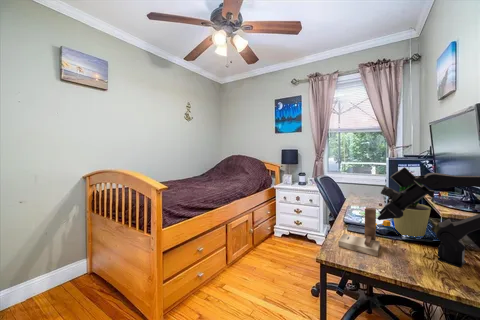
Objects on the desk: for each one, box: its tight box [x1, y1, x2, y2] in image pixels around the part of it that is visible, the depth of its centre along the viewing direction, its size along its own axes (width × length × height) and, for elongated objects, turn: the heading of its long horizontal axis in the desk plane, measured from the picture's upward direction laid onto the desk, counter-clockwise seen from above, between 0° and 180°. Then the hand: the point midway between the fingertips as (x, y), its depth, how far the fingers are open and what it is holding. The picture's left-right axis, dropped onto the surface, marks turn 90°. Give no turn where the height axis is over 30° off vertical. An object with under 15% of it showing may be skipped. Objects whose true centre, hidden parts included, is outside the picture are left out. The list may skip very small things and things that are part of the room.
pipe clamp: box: [376, 219, 391, 226], centre depth 113 cm, size 12×4×6 cm, turn 19°
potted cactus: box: [393, 180, 432, 237], centre depth 104 cm, size 15×15×30 cm
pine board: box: [337, 233, 381, 257], centre depth 94 cm, size 15×10×3 cm, turn 51°
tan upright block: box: [364, 206, 377, 246], centre depth 93 cm, size 4×12×16 cm, turn 141°
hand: (378, 216), depth 94 cm, fingers open, 9 cm apart
